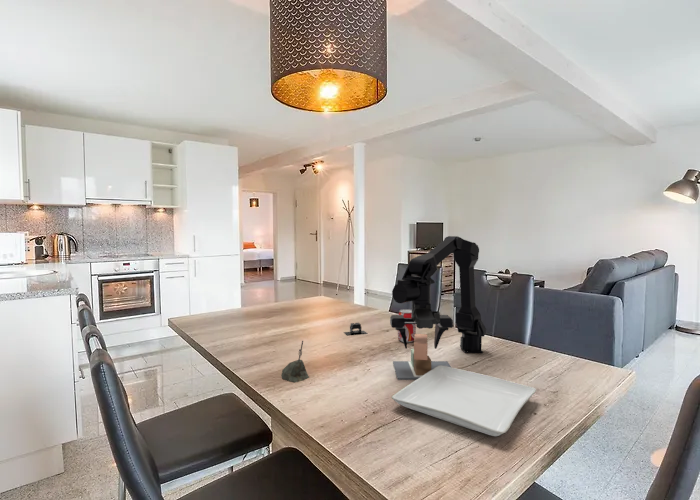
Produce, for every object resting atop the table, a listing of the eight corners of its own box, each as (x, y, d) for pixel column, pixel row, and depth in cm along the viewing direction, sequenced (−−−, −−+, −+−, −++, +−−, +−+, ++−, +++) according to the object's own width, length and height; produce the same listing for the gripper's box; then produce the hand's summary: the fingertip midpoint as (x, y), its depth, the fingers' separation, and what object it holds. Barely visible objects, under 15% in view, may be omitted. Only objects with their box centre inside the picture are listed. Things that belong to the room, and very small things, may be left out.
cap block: (427, 349, 124) (427, 334, 124) (427, 360, 114) (427, 343, 114) (414, 349, 125) (414, 333, 124) (413, 359, 115) (413, 343, 115)
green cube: (424, 362, 125) (424, 348, 125) (427, 367, 121) (427, 353, 120) (410, 362, 125) (410, 348, 125) (412, 367, 121) (412, 353, 120)
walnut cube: (428, 369, 119) (428, 355, 118) (431, 375, 114) (431, 360, 114) (413, 369, 119) (413, 355, 118) (416, 375, 114) (416, 360, 114)
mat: (447, 363, 126) (447, 361, 126) (458, 379, 112) (458, 377, 112) (392, 362, 127) (392, 361, 126) (397, 379, 113) (397, 377, 112)
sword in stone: (275, 374, 118) (276, 335, 117) (298, 369, 122) (299, 332, 122) (290, 385, 110) (291, 343, 109) (313, 379, 114) (314, 340, 114)
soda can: (410, 344, 146) (410, 313, 146) (394, 341, 151) (394, 311, 150) (418, 340, 152) (419, 310, 151) (403, 337, 156) (403, 308, 156)
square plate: (439, 375, 115) (439, 363, 115) (537, 401, 98) (537, 386, 98) (389, 409, 94) (389, 394, 94) (503, 449, 77) (504, 431, 77)
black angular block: (366, 331, 168) (366, 320, 168) (372, 335, 161) (372, 324, 161) (339, 333, 164) (339, 322, 164) (344, 338, 157) (344, 326, 157)
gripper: (393, 304, 110) (393, 357, 111) (458, 304, 110) (457, 357, 111) (390, 297, 122) (389, 345, 122) (448, 297, 121) (448, 345, 122)
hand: (420, 348), depth 119 cm, fingers open, 9 cm apart
